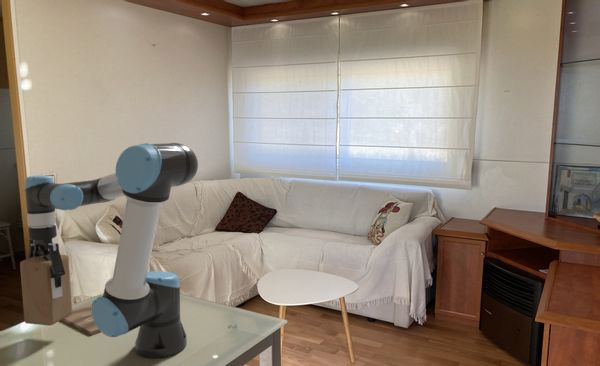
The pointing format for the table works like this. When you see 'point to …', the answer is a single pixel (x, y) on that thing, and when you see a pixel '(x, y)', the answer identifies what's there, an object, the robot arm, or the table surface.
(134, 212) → the robot arm
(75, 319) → the board
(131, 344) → the table surface
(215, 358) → the table surface
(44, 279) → the wooden block
